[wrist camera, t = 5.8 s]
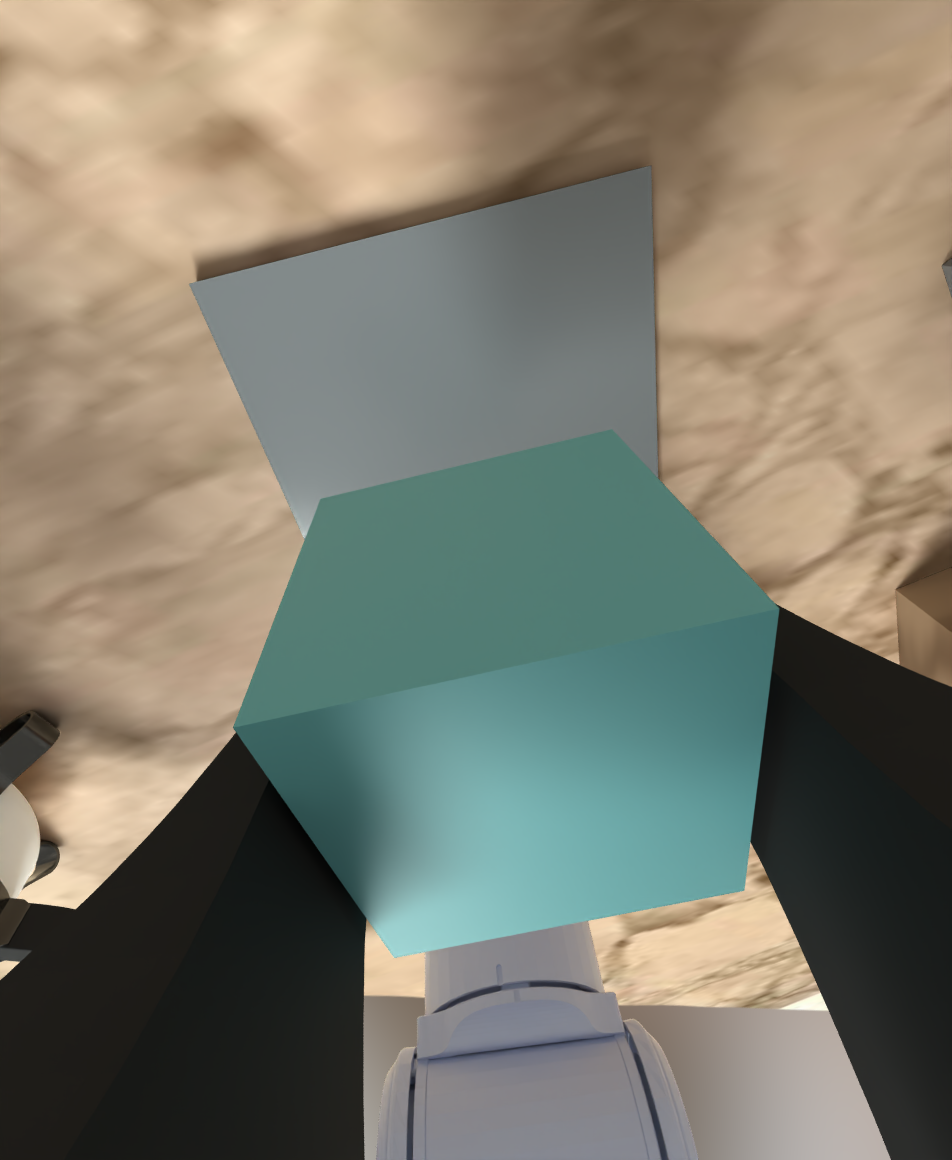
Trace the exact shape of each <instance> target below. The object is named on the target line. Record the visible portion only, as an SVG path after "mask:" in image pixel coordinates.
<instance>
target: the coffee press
mask: <svg viewBox="0 0 952 1160" xmlns="http://www.w3.org/2000/svg"><path fill="white" fill-rule="evenodd" d="M59 735H60V731H59V730H58V729H56V728H55V727H54V726H52V725H51V724H50V723H48V722H47V721H46V720H45V719H43V718H42V717H41V716H39V715H38V714H37V713H35V712H34V711H28V712H25V713H23V714H22V715H20V716H18V717H17V718H15V719H14V720H13V721H11V722H10V723H8V724H7V725H6V726H5V727H3V728H2V729H1V730H0V962H2V961H4V960H7V961H18V962H21V961H22V960H23V959H24V958H25V957H26V956H27V955H28V954H29V953H30V952H31V951H32V950H33V949H34V948H35V947H37V946H38V945H39V944H40V943H41V942H42V941H43V940H44V939H45V938H46V937H47V936H48V935H49V934H50V933H51V932H52V931H53V930H54V929H56V928H57V927H58V926H59V925H60V924H61V923H62V922H63V921H64V920H65V919H66V918H67V917H68V916H69V915H70V914H71V913H72V912H73V911H75V910H76V909H70V908H65V907H59V906H51V905H43V904H34V903H28V902H27V901H26V900H24V899H17V897H18V895H19V893H20V892H21V890H22V889H23V888H25V887H27V886H28V885H30V884H31V883H33V882H35V881H37V880H39V879H41V878H43V877H44V876H46V875H48V874H50V873H51V872H52V871H53V870H54V869H55V868H56V867H57V865H58V862H59V858H60V853H59V849H58V848H57V846H56V845H55V844H54V843H52V842H49V841H44V842H40V831H39V826H38V822H37V819H36V816H35V814H34V811H33V809H32V808H31V806H30V804H29V803H28V801H27V800H26V798H25V797H24V796H23V795H22V793H21V792H20V791H19V790H18V789H17V788H16V787H15V786H14V785H13V784H12V782H13V781H14V780H15V779H16V778H17V777H18V776H19V775H21V774H22V773H23V772H24V771H25V770H26V769H27V768H28V767H29V766H30V765H32V764H33V763H34V762H35V761H36V760H37V759H38V758H39V757H40V756H42V755H43V754H44V753H45V752H46V751H47V750H48V749H49V748H50V747H51V746H52V745H53V744H54V743H55V742H56V740H57V739H58V737H59ZM35 864H36V868H35V871H34V872H33V874H32V875H31V876H30V874H31V872H32V870H33V868H34V866H35ZM29 876H30V877H29Z"/></svg>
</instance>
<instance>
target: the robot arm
mask: <svg viewBox="0 0 952 1160" xmlns="http://www.w3.org/2000/svg"><path fill="white" fill-rule="evenodd" d="M776 605H777V604H776ZM777 606H778V608H779V616H778V624H777V632H776V640H775V648H774V656H773V664H772V672H771V680H770V688H769V696H768V704H767V712H766V720H765V728H764V736H763V744H762V752H761V760H760V768H759V776H758V784H757V792H756V800H755V808H754V816H753V824H752V832H751V840H750V842H751V844H752V846H753V848H754V850H755V851H756V853H757V855H758V857H759V859H760V861H761V863H762V865H763V867H764V869H765V871H766V873H767V875H768V877H769V880H770V882H771V884H772V886H773V888H774V890H775V893H776V895H777V897H778V899H779V901H780V903H781V905H782V908H783V910H784V912H785V914H786V916H787V918H788V921H789V923H790V925H791V927H792V929H793V931H794V934H795V936H796V938H797V940H798V942H799V945H800V947H801V949H802V952H803V954H804V956H805V958H806V961H807V963H808V965H809V967H810V970H811V972H812V974H813V976H814V979H815V981H816V983H817V985H818V988H819V990H820V992H821V994H822V997H823V999H824V1001H825V1003H826V1006H827V1008H828V1010H829V1012H830V1015H831V1017H832V1019H833V1022H834V1024H835V1026H836V1029H837V1031H838V1033H839V1036H840V1038H841V1040H842V1043H843V1045H844V1048H845V1050H846V1052H847V1055H848V1057H849V1059H850V1062H851V1064H852V1066H853V1069H854V1071H855V1073H856V1076H857V1078H858V1081H859V1083H860V1085H861V1088H862V1090H863V1092H864V1095H865V1097H866V1099H867V1102H868V1104H869V1107H870V1109H871V1111H872V1113H873V1116H874V1118H875V1121H876V1123H877V1126H878V1128H879V1131H880V1133H881V1135H882V1138H883V1141H884V1143H885V1145H886V1148H887V1151H888V1153H889V1156H890V1158H891V1160H952V687H951V686H948V685H946V684H943V683H941V682H938V681H936V680H933V679H931V678H928V677H926V676H924V675H921V674H919V673H917V672H914V671H912V670H910V669H907V668H905V667H903V666H901V665H898V664H896V663H894V662H892V661H889V660H887V659H885V658H883V657H881V656H879V655H877V654H875V653H872V652H870V651H868V650H866V649H864V648H862V647H860V646H858V645H855V644H853V643H851V642H849V641H847V640H845V639H843V638H841V637H839V636H837V635H835V634H833V633H831V632H829V631H827V630H825V629H823V628H821V627H819V626H817V625H815V624H813V623H811V622H809V621H807V620H805V619H803V618H801V617H799V616H797V615H795V614H794V613H792V612H790V611H788V610H786V609H784V608H782V607H781V606H779V605H777ZM365 931H366V917H365V915H364V914H363V913H362V911H361V910H360V908H359V907H358V905H357V904H356V903H355V901H354V900H353V898H352V897H351V895H350V894H349V893H348V891H347V890H346V888H345V887H344V885H343V884H342V883H341V881H340V880H339V878H338V877H337V875H336V874H335V873H334V871H333V870H332V868H331V867H330V865H329V864H328V863H327V861H326V860H325V858H324V857H323V855H322V854H321V853H320V851H319V850H318V848H317V847H316V845H315V844H314V843H313V841H312V840H311V838H310V837H309V835H308V834H307V833H306V831H305V830H304V828H303V827H302V825H301V824H300V823H299V821H298V820H297V818H296V817H295V815H294V814H293V813H292V811H291V810H290V808H289V807H288V805H287V804H286V803H285V801H284V800H283V798H282V797H281V795H280V794H279V793H278V791H277V790H276V788H275V787H274V785H273V784H272V783H271V781H270V780H269V778H268V777H267V775H266V774H265V773H264V771H263V770H262V768H261V767H260V765H259V764H258V763H257V761H256V760H255V758H254V757H253V755H252V754H251V753H250V751H249V750H248V748H247V747H246V745H245V744H244V743H243V741H242V740H241V738H240V737H239V735H238V734H237V733H235V734H234V736H233V737H232V738H231V740H230V741H229V742H228V743H227V745H226V746H225V747H224V748H223V749H222V751H221V752H220V753H219V754H218V755H217V757H216V758H215V759H214V760H213V761H212V763H211V764H210V765H209V766H208V767H207V769H206V770H205V771H204V772H203V773H202V775H201V776H200V777H199V778H198V779H197V781H196V782H195V783H194V784H193V785H192V787H191V788H190V789H189V790H188V791H187V793H186V794H185V795H184V796H183V797H182V799H181V800H180V801H179V802H178V803H177V805H176V806H175V807H174V808H173V809H172V810H171V811H170V812H169V814H168V815H167V816H166V817H165V818H164V819H163V820H162V821H161V822H160V824H159V825H158V826H157V827H156V828H155V829H154V830H153V831H152V832H151V833H150V835H149V836H148V837H147V838H146V839H145V840H144V841H143V842H142V843H141V844H140V845H139V846H138V847H137V848H136V849H135V850H134V851H133V852H132V853H131V855H130V856H129V857H128V858H127V859H126V860H125V861H124V862H123V863H122V864H121V865H120V866H119V867H118V868H117V869H116V870H115V871H114V872H113V873H112V874H111V875H110V876H109V877H108V878H107V879H106V880H105V881H104V882H103V883H102V884H101V885H100V886H99V887H98V888H97V889H96V890H95V891H94V892H93V893H92V894H91V895H90V896H89V897H88V898H87V899H86V900H85V901H84V902H83V903H82V904H81V905H80V906H79V907H78V908H77V909H76V910H75V911H73V912H72V913H71V914H70V915H69V916H68V917H67V918H66V919H65V920H64V921H63V922H62V923H61V924H60V925H59V926H58V927H57V928H56V929H54V930H53V931H52V932H51V933H50V934H49V935H48V936H47V937H46V938H45V939H44V940H43V941H42V942H41V943H40V944H39V945H38V946H37V947H35V948H34V949H33V950H32V951H31V952H30V953H29V954H28V955H27V956H26V957H25V958H24V959H23V960H22V961H21V962H20V963H19V964H18V965H16V966H15V967H14V968H13V969H12V970H11V971H10V972H9V973H8V974H7V975H6V976H5V977H3V978H2V979H1V980H0V1160H364V1113H363V1112H364V1108H363V1009H364V1005H363V1004H364V952H365ZM376 1160H699V1159H698V1155H697V1151H696V1147H695V1143H694V1139H693V1136H692V1132H691V1128H690V1125H689V1122H688V1118H687V1115H686V1111H685V1108H684V1104H683V1101H682V1098H681V1095H680V1092H679V1089H678V1086H677V1083H676V1081H675V1079H674V1076H673V1073H672V1070H671V1068H670V1065H669V1063H668V1061H667V1058H666V1056H665V1054H664V1052H663V1050H662V1048H661V1047H660V1045H659V1044H658V1042H657V1041H656V1040H655V1039H654V1038H653V1037H652V1036H651V1035H650V1034H649V1033H648V1032H647V1031H646V1030H645V1029H644V1027H643V1026H642V1025H641V1024H640V1023H639V1022H638V1021H637V1020H635V1019H628V1020H622V1018H621V1014H620V1010H619V1006H618V1002H617V998H616V994H615V993H614V992H606V993H605V991H604V986H603V982H602V978H601V974H600V970H599V965H598V961H597V957H596V953H595V949H594V944H593V940H592V936H591V932H590V928H589V923H588V921H584V922H579V923H573V924H568V925H563V926H558V927H553V928H547V929H542V930H537V931H532V932H527V933H521V934H516V935H511V936H506V937H501V938H495V939H490V940H485V941H480V942H475V943H469V944H464V945H459V946H454V947H449V948H443V949H438V950H433V951H428V952H425V1015H424V1016H419V1017H418V1019H417V1047H405V1048H404V1049H402V1050H401V1051H400V1053H399V1054H398V1057H397V1060H396V1061H395V1063H394V1064H393V1066H392V1067H391V1069H390V1070H389V1072H388V1073H387V1076H386V1079H385V1082H384V1087H383V1093H382V1099H381V1106H380V1115H379V1125H378V1139H377V1155H376Z"/></svg>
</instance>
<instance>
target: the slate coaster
mask: <svg viewBox="0 0 952 1160" xmlns="http://www.w3.org/2000/svg"><path fill="white" fill-rule="evenodd" d="M189 285H190V287H191V289H192V291H193V294H194V296H195V298H196V300H197V303H198V305H199V307H200V309H201V311H202V314H203V316H204V318H205V320H206V322H207V325H208V327H209V329H210V331H211V334H212V336H213V338H214V340H215V342H216V345H217V347H218V349H219V351H220V354H221V356H222V358H223V360H224V362H225V365H226V367H227V369H228V371H229V373H230V376H231V378H232V380H233V382H234V385H235V387H236V389H237V391H238V393H239V396H240V398H241V400H242V402H243V405H244V407H245V409H246V411H247V413H248V416H249V418H250V420H251V422H252V424H253V427H254V429H255V431H256V433H257V436H258V438H259V440H260V442H261V444H262V447H263V449H264V451H265V453H266V456H267V458H268V460H269V462H270V464H271V467H272V469H273V471H274V473H275V475H276V478H277V480H278V482H279V484H280V487H281V489H282V491H283V493H284V495H285V498H286V500H287V502H288V504H289V507H290V509H291V511H292V513H293V515H294V518H295V520H296V522H297V524H298V526H299V529H300V531H301V533H302V535H303V538H304V540H305V538H306V535H307V533H308V530H309V527H310V525H311V522H312V520H313V517H314V514H315V512H316V509H317V507H318V504H319V501H320V499H322V498H326V497H330V496H334V495H338V494H343V493H347V492H351V491H355V490H359V489H364V488H368V487H372V486H376V485H380V484H384V483H389V482H393V481H397V480H401V479H405V478H410V477H414V476H418V475H422V474H426V473H431V472H435V471H439V470H443V469H447V468H451V467H456V466H460V465H464V464H468V463H472V462H477V461H481V460H485V459H489V458H493V457H497V456H502V455H506V454H510V453H514V452H518V451H523V450H527V449H531V448H535V447H539V446H544V445H548V444H552V443H556V442H560V441H564V440H569V439H573V438H577V437H581V436H585V435H590V434H594V433H598V432H602V431H606V430H611V429H612V430H613V431H614V432H615V433H616V434H617V435H618V436H619V437H620V438H621V439H622V440H623V441H624V442H625V444H626V445H627V446H628V447H629V448H630V449H631V450H632V451H633V452H634V453H635V454H636V455H637V456H638V457H639V459H640V460H641V461H642V462H643V463H644V464H645V465H646V466H647V467H648V468H649V469H650V470H651V471H652V473H653V474H654V475H655V476H656V477H657V478H658V451H657V405H656V359H655V313H654V267H653V221H652V175H651V166H647V167H643V168H639V169H635V170H631V171H627V172H623V173H619V174H616V175H612V176H608V177H604V178H600V179H596V180H592V181H588V182H584V183H580V184H576V185H573V186H569V187H565V188H561V189H557V190H553V191H549V192H545V193H541V194H537V195H534V196H530V197H526V198H522V199H518V200H514V201H510V202H506V203H502V204H498V205H495V206H491V207H487V208H483V209H479V210H475V211H471V212H467V213H463V214H459V215H455V216H452V217H448V218H444V219H440V220H436V221H432V222H428V223H424V224H420V225H416V226H413V227H409V228H405V229H401V230H397V231H393V232H389V233H385V234H381V235H377V236H373V237H370V238H366V239H362V240H358V241H354V242H350V243H346V244H342V245H338V246H334V247H331V248H327V249H323V250H319V251H315V252H311V253H307V254H303V255H299V256H295V257H291V258H288V259H284V260H280V261H276V262H272V263H268V264H264V265H260V266H256V267H252V268H249V269H245V270H241V271H237V272H233V273H229V274H225V275H221V276H217V277H213V278H209V279H206V280H202V281H198V282H194V283H190V284H189Z"/></svg>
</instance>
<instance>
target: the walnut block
mask: <svg viewBox="0 0 952 1160" xmlns="http://www.w3.org/2000/svg"><path fill="white" fill-rule="evenodd" d="M896 608H897V626H898V643H899V661H900V665H901V666H903V667H905V668H907V669H910V670H912V671H914V672H917V673H919V674H921V675H924V676H926V677H928V678H931V679H933V680H936V681H938V682H941V683H943V684H946V685H948V686H951V687H952V567H951V568H948V569H946V570H943V571H941V572H938V573H936V574H933V575H931V576H928V577H926V578H923V579H921V580H918V581H916V582H913V583H911V584H908V585H906V586H903V587H901V588H898V589H896Z"/></svg>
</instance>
